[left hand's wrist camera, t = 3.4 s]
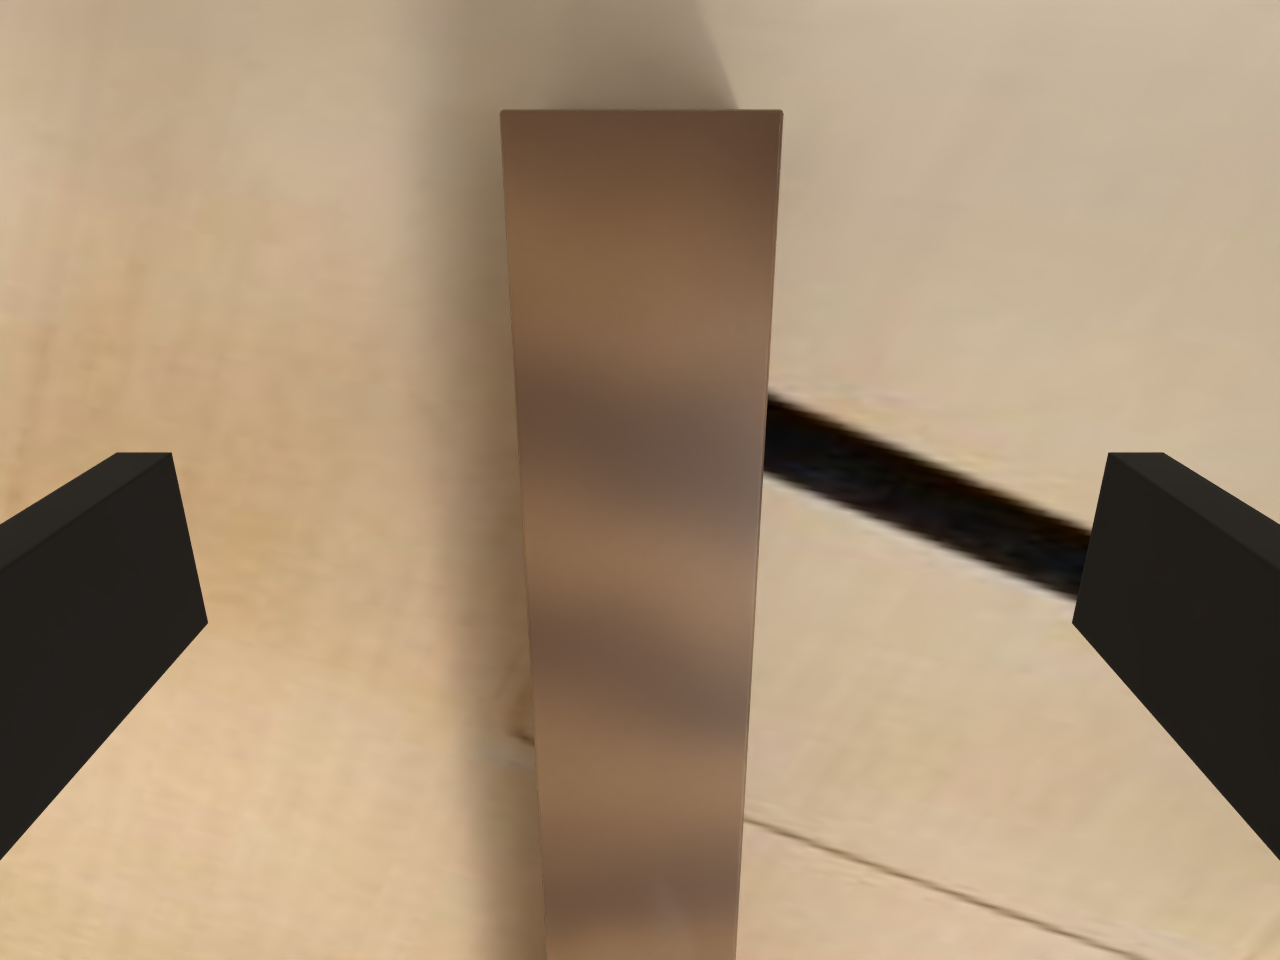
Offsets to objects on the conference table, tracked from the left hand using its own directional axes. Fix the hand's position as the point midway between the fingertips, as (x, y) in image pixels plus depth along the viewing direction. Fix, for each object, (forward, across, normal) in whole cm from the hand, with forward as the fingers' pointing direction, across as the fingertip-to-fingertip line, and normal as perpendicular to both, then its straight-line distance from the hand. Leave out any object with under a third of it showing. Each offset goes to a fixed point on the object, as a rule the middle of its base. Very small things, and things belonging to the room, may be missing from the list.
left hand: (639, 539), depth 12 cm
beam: (+15, 0, -28) cm, 31 cm away
